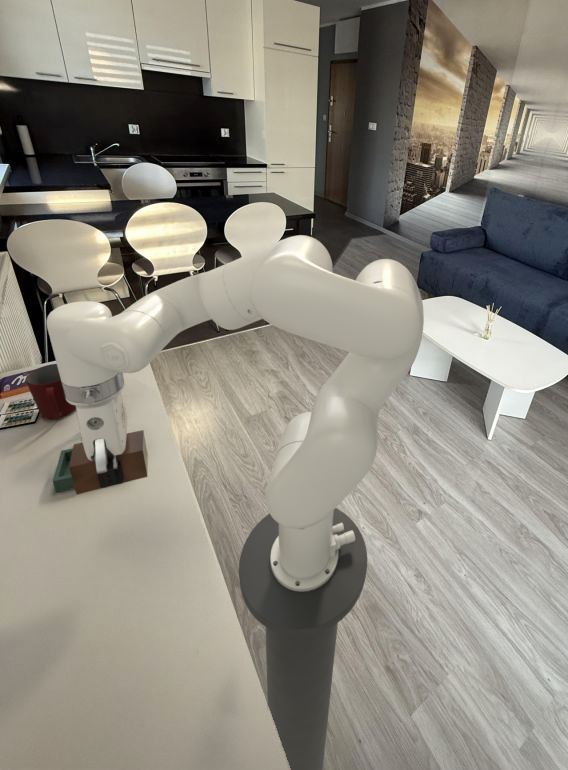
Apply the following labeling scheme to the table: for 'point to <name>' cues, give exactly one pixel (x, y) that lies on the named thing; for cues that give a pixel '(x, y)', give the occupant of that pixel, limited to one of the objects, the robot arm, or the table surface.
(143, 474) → the walnut box
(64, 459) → the tray
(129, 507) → the table surface
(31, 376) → the mug
